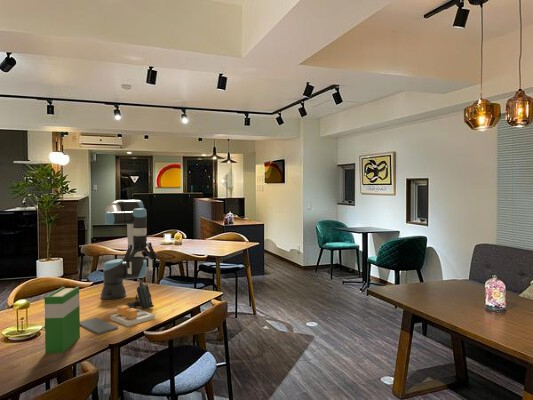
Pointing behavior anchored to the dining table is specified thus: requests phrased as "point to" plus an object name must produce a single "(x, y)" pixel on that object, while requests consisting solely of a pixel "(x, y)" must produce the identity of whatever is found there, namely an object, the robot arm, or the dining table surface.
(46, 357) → the dining table surface
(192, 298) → the dining table surface
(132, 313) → the orange block
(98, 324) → the mat
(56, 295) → the hardback book
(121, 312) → the orange wooden block
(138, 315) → the light grey tray
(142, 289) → the gun
